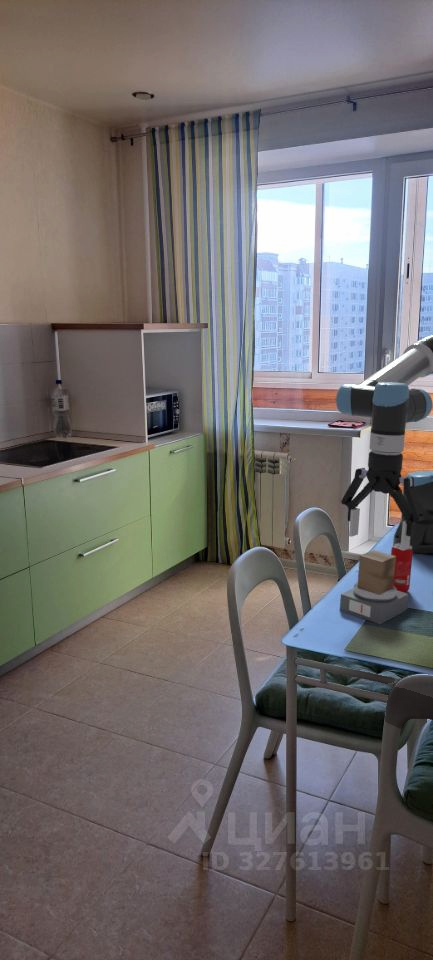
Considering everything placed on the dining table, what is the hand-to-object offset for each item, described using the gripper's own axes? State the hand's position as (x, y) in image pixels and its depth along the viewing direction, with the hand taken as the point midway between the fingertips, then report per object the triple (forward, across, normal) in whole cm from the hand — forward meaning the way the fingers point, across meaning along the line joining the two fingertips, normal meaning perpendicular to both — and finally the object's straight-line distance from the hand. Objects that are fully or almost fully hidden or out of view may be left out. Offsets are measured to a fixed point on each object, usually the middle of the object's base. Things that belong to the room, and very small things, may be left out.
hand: (378, 542), depth 162 cm
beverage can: (+17, -2, +16) cm, 23 cm away
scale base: (+17, 0, 0) cm, 17 cm away
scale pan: (+13, 0, 0) cm, 13 cm away
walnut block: (+11, 0, 0) cm, 11 cm away
